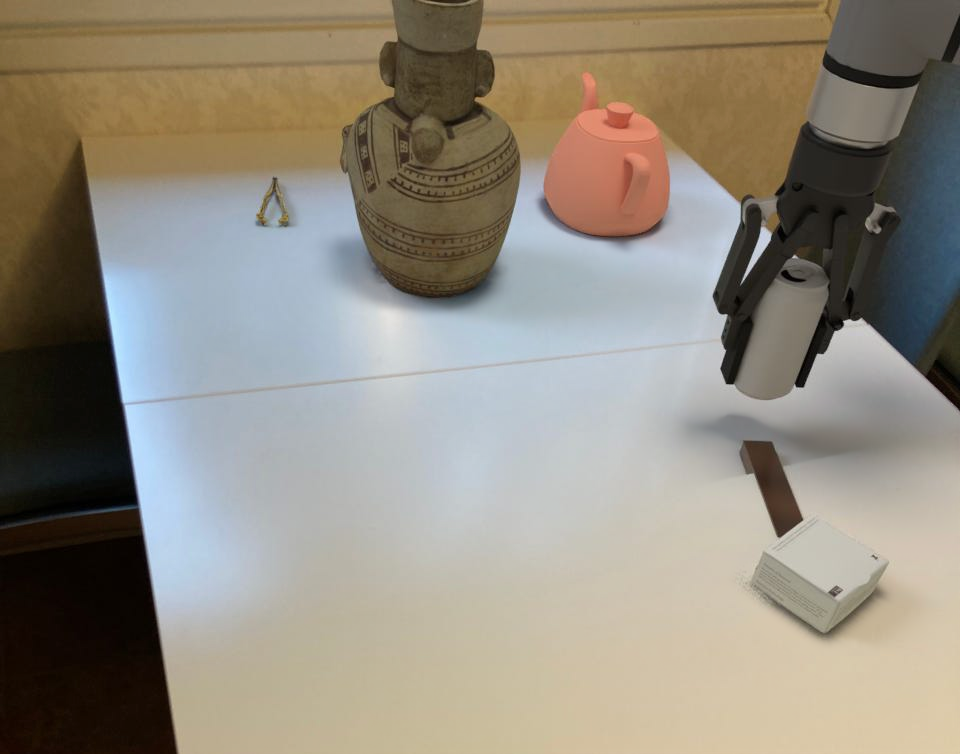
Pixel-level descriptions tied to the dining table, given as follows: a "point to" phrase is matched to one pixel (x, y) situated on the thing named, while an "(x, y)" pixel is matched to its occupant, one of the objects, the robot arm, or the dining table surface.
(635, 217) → the teapot
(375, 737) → the dining table surface
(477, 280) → the ceramic vessel
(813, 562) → the small box
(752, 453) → the walnut slat
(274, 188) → the tongs
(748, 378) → the beverage can
